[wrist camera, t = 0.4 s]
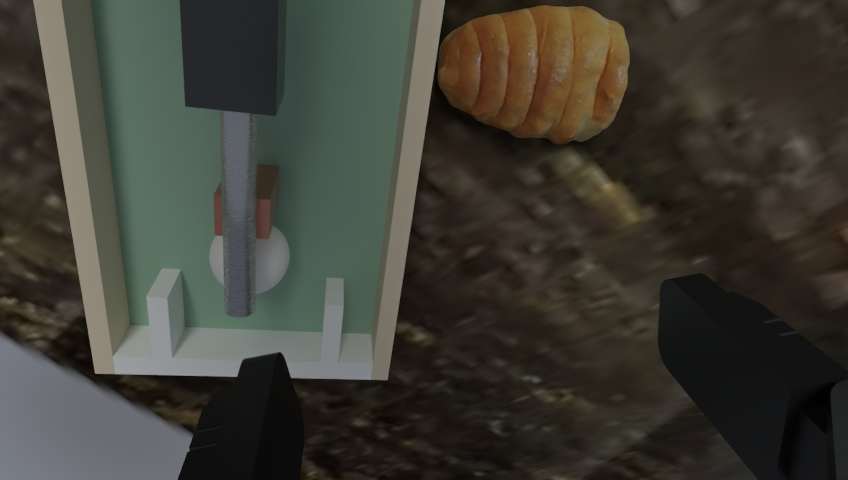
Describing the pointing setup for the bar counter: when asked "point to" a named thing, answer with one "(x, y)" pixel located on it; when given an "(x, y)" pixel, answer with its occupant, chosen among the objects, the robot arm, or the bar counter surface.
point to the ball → (258, 260)
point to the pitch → (201, 174)
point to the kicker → (237, 122)
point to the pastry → (537, 71)
